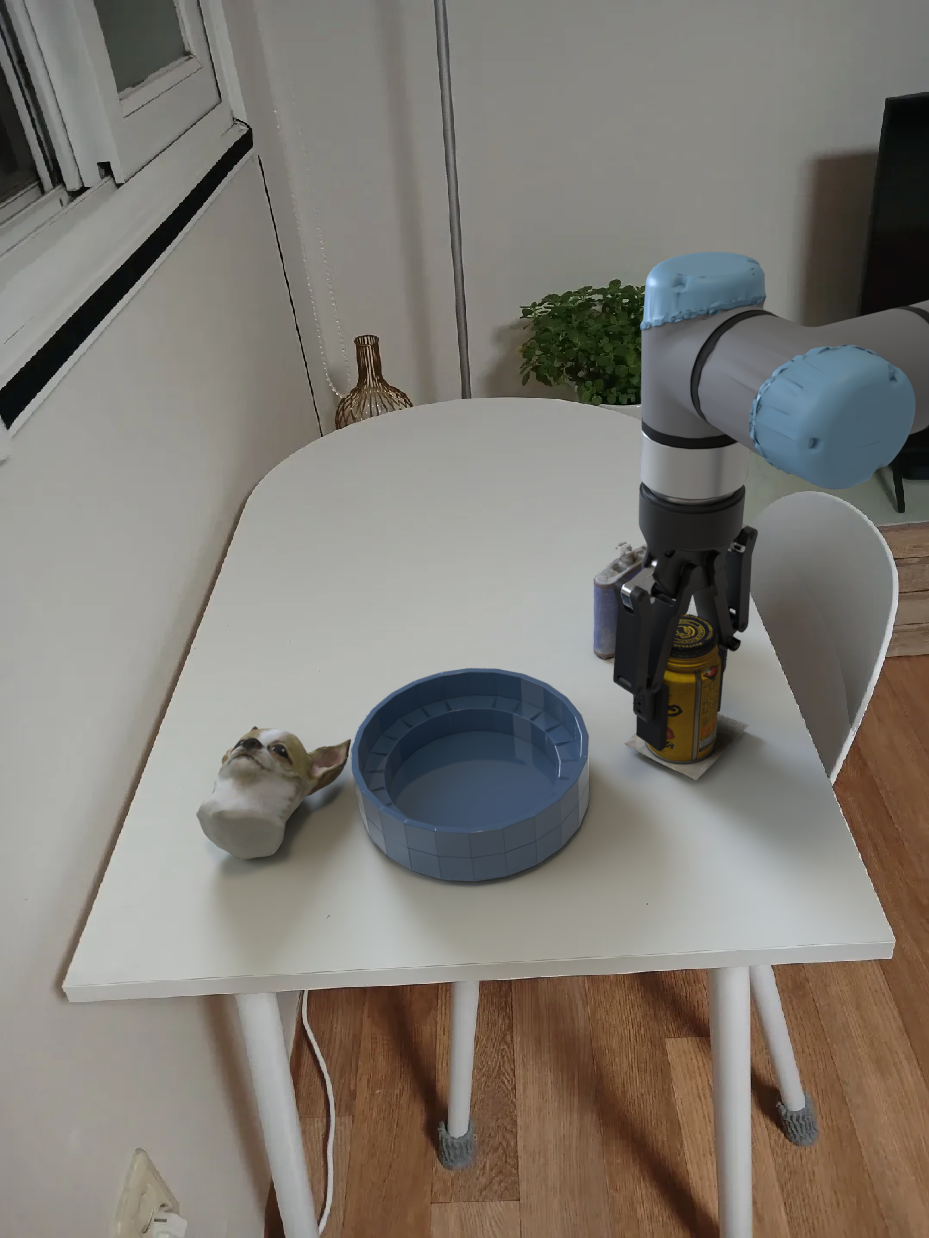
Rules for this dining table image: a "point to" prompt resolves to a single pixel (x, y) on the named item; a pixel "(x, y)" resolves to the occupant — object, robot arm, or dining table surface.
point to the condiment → (693, 703)
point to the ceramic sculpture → (265, 789)
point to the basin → (472, 773)
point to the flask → (612, 597)
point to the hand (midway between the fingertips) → (678, 722)
